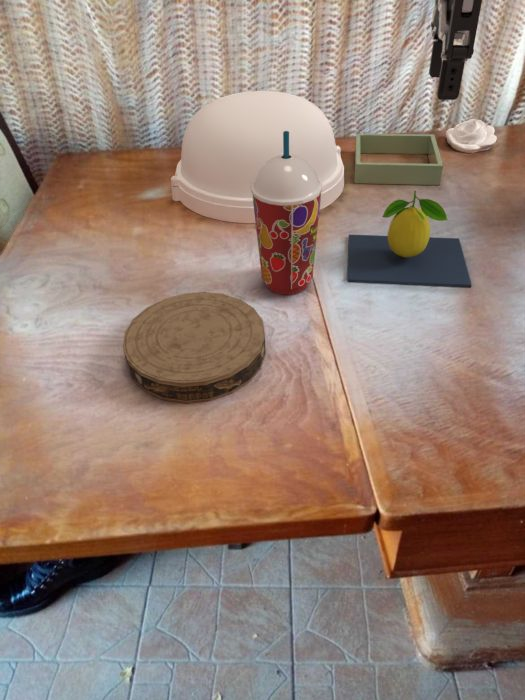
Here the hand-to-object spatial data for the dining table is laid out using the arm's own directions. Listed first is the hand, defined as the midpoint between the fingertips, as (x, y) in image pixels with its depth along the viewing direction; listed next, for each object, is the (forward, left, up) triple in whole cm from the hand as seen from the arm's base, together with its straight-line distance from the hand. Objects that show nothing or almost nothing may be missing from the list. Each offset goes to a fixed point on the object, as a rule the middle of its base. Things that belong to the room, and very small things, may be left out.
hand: (442, 87), depth 61 cm
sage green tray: (+1, -31, -23) cm, 38 cm away
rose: (-14, -43, -23) cm, 51 cm away
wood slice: (+26, +23, -23) cm, 41 cm away
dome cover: (+25, -23, -23) cm, 41 cm away
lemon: (+1, +1, -22) cm, 22 cm away
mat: (+1, +1, -23) cm, 23 cm away
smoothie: (+17, +8, -23) cm, 29 cm away
